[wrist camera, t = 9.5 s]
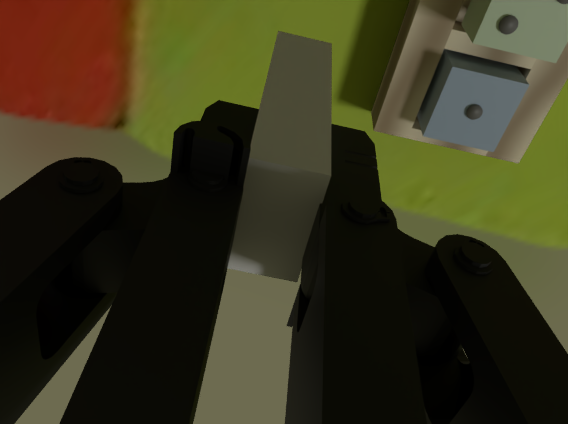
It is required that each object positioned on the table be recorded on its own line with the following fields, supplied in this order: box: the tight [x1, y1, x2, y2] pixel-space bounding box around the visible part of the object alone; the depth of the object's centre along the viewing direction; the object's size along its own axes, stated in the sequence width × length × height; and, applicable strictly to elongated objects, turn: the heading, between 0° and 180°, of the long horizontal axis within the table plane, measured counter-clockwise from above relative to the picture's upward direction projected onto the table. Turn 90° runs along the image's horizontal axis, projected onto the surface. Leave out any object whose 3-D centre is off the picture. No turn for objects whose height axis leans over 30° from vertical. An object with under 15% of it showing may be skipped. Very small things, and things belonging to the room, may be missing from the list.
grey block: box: [417, 49, 529, 152], centre depth 42 cm, size 6×6×4 cm
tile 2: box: [461, 0, 568, 63], centre depth 35 cm, size 6×6×4 cm
